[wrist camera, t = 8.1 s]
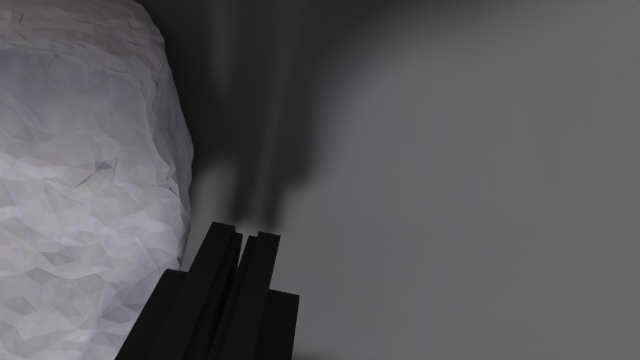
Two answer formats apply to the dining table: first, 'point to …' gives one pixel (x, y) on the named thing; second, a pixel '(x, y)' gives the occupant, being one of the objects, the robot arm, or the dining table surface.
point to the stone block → (85, 175)
